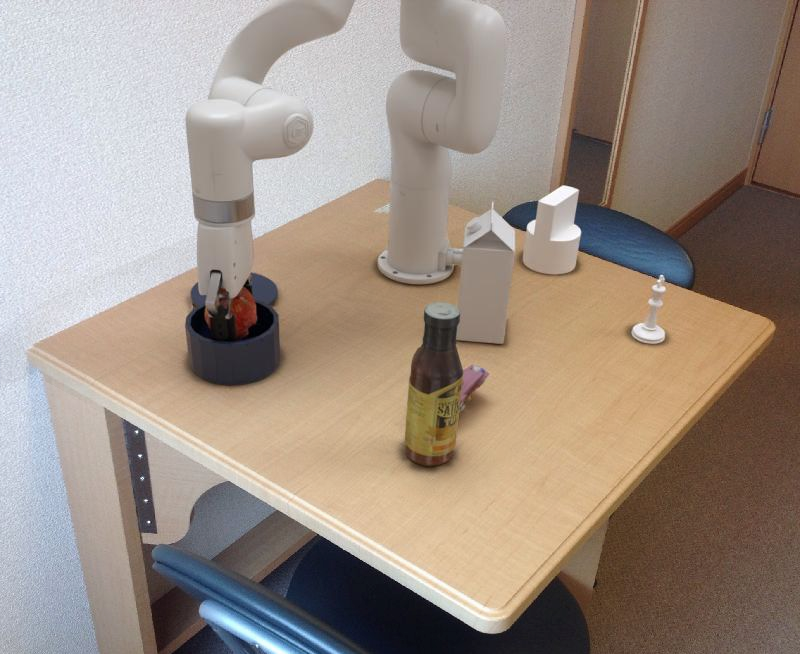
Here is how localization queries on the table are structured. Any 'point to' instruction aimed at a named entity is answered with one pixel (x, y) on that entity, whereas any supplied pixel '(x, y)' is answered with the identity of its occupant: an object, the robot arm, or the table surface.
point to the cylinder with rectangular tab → (553, 233)
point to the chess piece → (652, 318)
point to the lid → (260, 289)
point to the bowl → (234, 349)
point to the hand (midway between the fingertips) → (233, 325)
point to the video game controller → (471, 382)
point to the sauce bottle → (434, 388)
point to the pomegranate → (240, 312)
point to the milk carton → (485, 278)
